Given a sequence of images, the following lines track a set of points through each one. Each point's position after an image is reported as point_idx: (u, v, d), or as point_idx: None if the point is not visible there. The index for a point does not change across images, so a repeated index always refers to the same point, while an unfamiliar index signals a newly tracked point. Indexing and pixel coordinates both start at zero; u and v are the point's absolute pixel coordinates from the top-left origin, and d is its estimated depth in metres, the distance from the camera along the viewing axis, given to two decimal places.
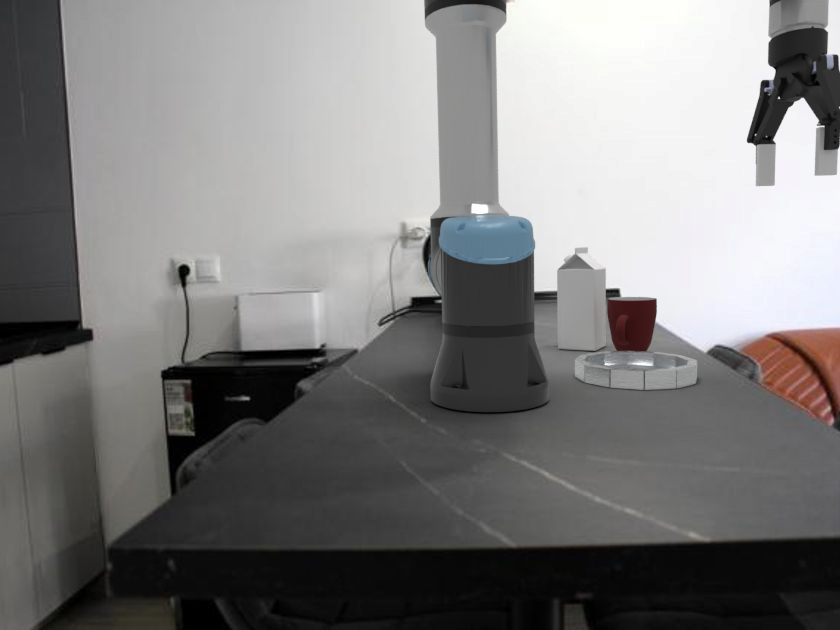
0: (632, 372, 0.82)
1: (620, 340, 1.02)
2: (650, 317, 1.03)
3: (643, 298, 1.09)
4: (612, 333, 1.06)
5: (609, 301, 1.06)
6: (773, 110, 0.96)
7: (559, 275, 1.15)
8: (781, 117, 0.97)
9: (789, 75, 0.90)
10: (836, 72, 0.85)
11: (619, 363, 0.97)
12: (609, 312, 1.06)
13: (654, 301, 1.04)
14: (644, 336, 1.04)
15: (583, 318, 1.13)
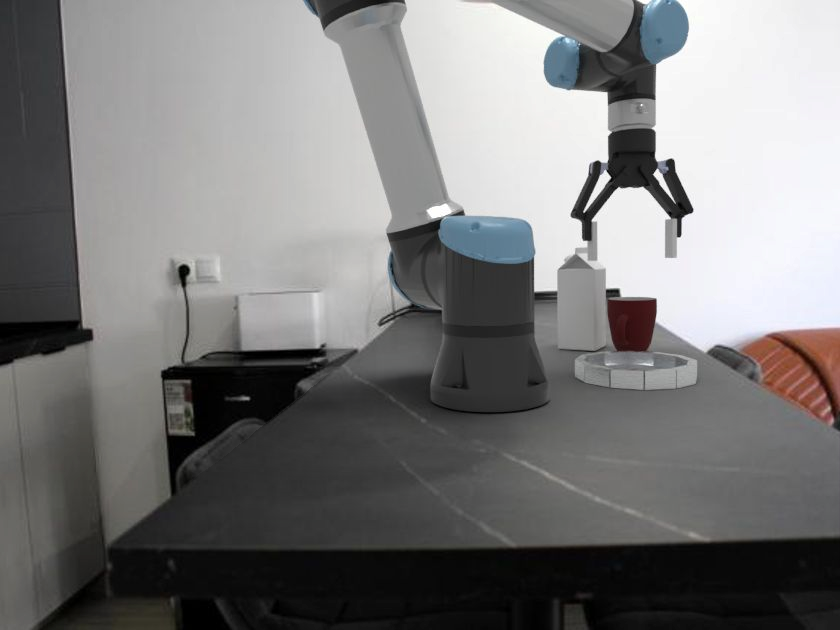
0: (632, 372, 0.82)
1: (620, 340, 1.02)
2: (650, 317, 1.03)
3: (643, 298, 1.09)
4: (612, 333, 1.06)
5: (609, 301, 1.06)
6: (650, 192, 1.05)
7: (559, 275, 1.15)
8: (659, 196, 1.03)
9: None
10: (590, 177, 1.02)
11: (619, 363, 0.97)
12: (609, 312, 1.06)
13: (654, 301, 1.04)
14: (644, 336, 1.04)
15: (584, 318, 1.13)
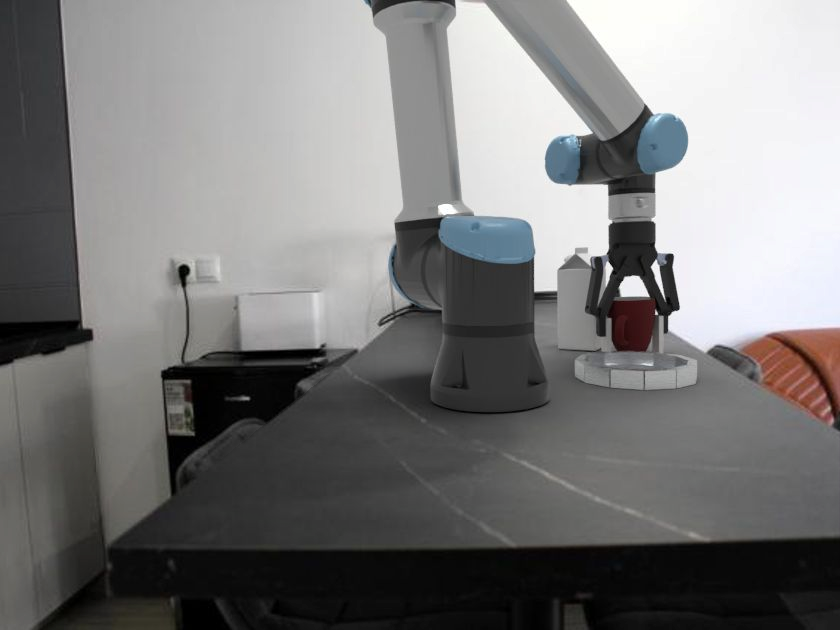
0: (632, 372, 0.82)
1: (619, 340, 1.02)
2: (649, 316, 1.03)
3: (641, 297, 1.09)
4: (611, 333, 1.06)
5: None
6: (644, 283, 1.06)
7: (559, 275, 1.15)
8: (651, 289, 1.05)
9: None
10: (595, 273, 1.04)
11: (619, 363, 0.97)
12: (608, 312, 1.06)
13: (652, 300, 1.04)
14: (643, 336, 1.04)
15: (583, 318, 1.13)
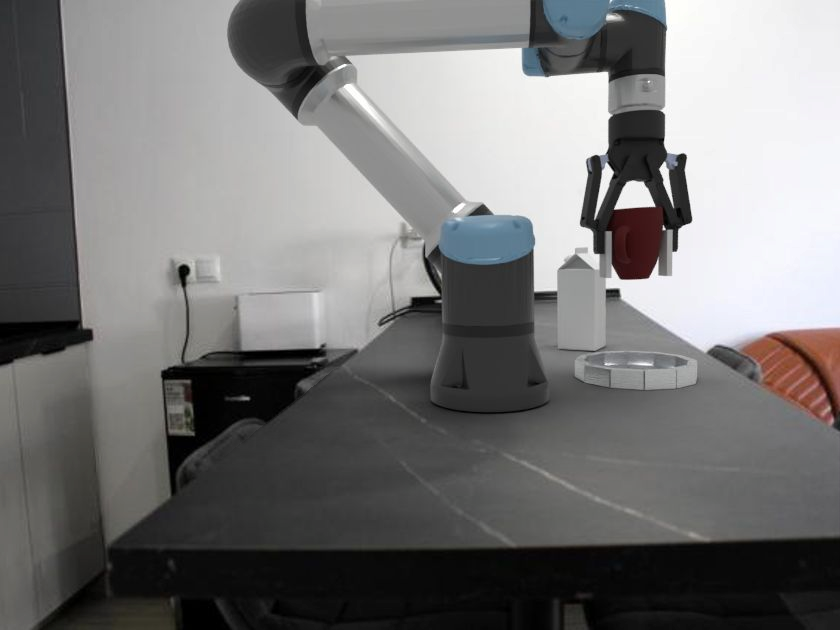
0: (632, 372, 0.82)
1: (620, 255, 0.84)
2: (656, 228, 0.85)
3: None
4: None
5: None
6: (649, 191, 0.88)
7: (559, 275, 1.15)
8: (658, 197, 0.87)
9: None
10: (591, 176, 0.86)
11: (619, 363, 0.97)
12: None
13: (660, 209, 0.86)
14: (648, 251, 0.86)
15: (583, 318, 1.13)
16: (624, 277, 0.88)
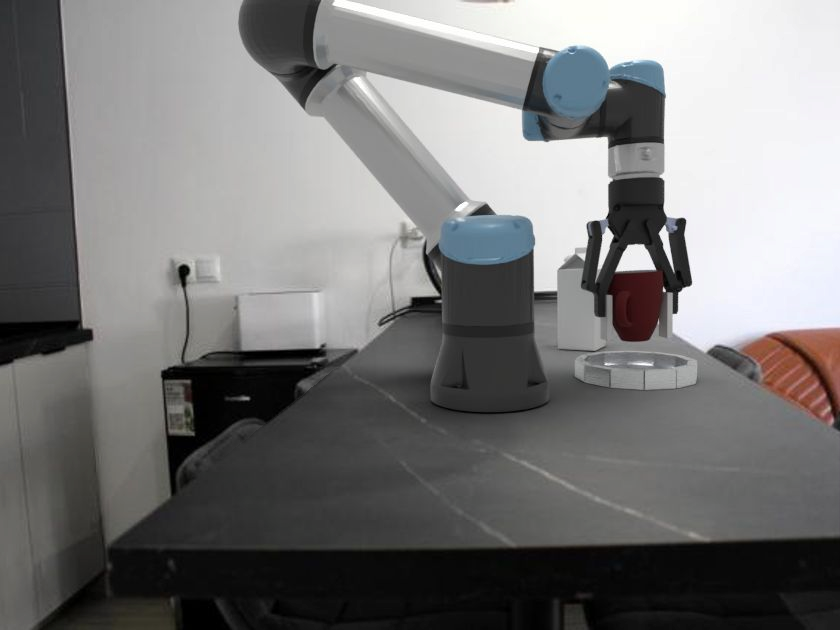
0: (632, 372, 0.82)
1: (621, 321, 0.85)
2: (656, 292, 0.86)
3: (646, 271, 0.92)
4: None
5: None
6: (649, 253, 0.89)
7: (559, 275, 1.15)
8: (658, 261, 0.88)
9: None
10: (592, 241, 0.87)
11: (619, 363, 0.97)
12: None
13: (660, 273, 0.87)
14: (649, 315, 0.87)
15: (583, 318, 1.13)
16: (625, 339, 0.89)
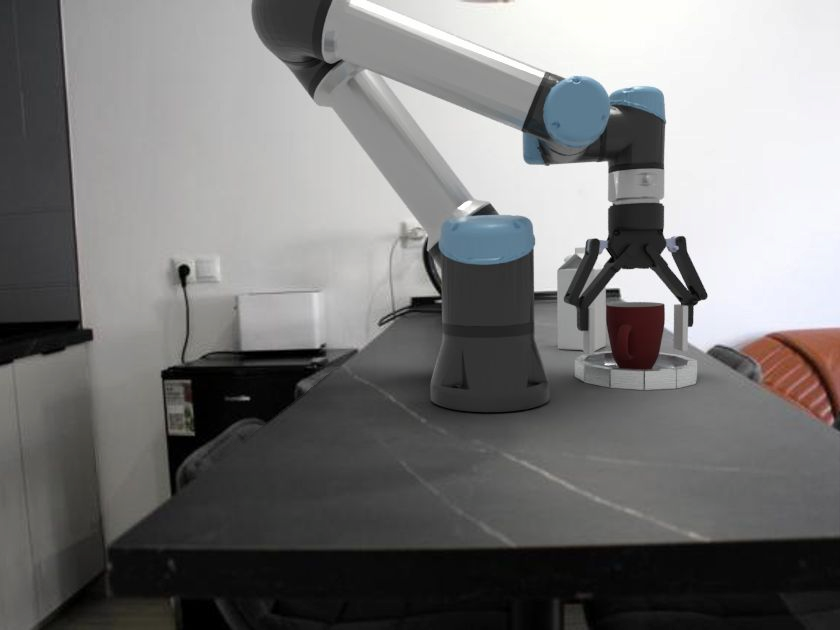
0: (632, 372, 0.82)
1: (622, 354, 0.85)
2: (657, 326, 0.87)
3: (648, 303, 0.92)
4: (612, 345, 0.90)
5: (608, 308, 0.89)
6: (656, 273, 0.90)
7: (559, 275, 1.15)
8: (667, 280, 0.88)
9: None
10: (587, 257, 0.87)
11: None
12: (608, 321, 0.89)
13: (662, 307, 0.87)
14: (650, 349, 0.87)
15: None
16: None
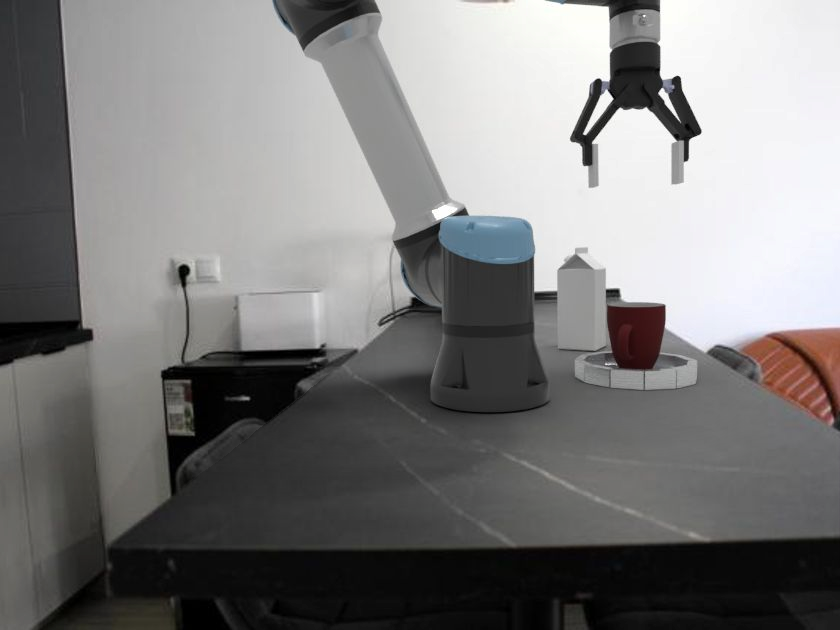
0: (632, 372, 0.82)
1: (622, 354, 0.85)
2: (658, 327, 0.87)
3: (649, 304, 0.92)
4: (613, 345, 0.90)
5: (609, 307, 0.89)
6: (655, 114, 0.99)
7: (559, 275, 1.15)
8: (664, 117, 0.97)
9: None
10: (590, 97, 0.96)
11: None
12: (609, 320, 0.89)
13: (663, 308, 0.87)
14: (650, 350, 0.87)
15: (583, 318, 1.13)
16: None
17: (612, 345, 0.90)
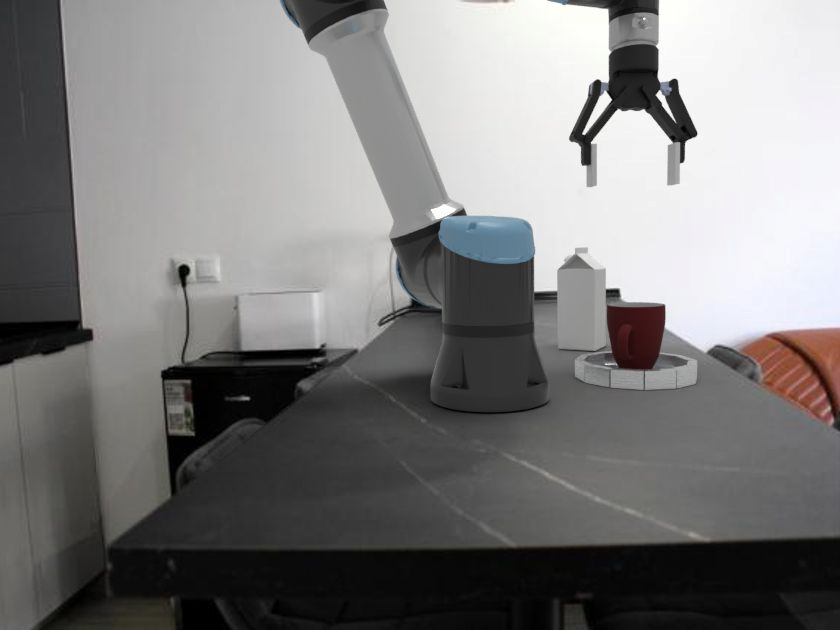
0: (632, 372, 0.82)
1: (622, 354, 0.85)
2: (658, 327, 0.87)
3: (649, 304, 0.92)
4: (613, 345, 0.90)
5: (609, 308, 0.89)
6: (652, 116, 1.00)
7: (559, 275, 1.15)
8: (661, 119, 0.99)
9: None
10: (590, 97, 0.98)
11: None
12: (609, 321, 0.89)
13: (663, 308, 0.87)
14: (650, 349, 0.87)
15: (583, 318, 1.13)
16: None
17: (612, 345, 0.90)
